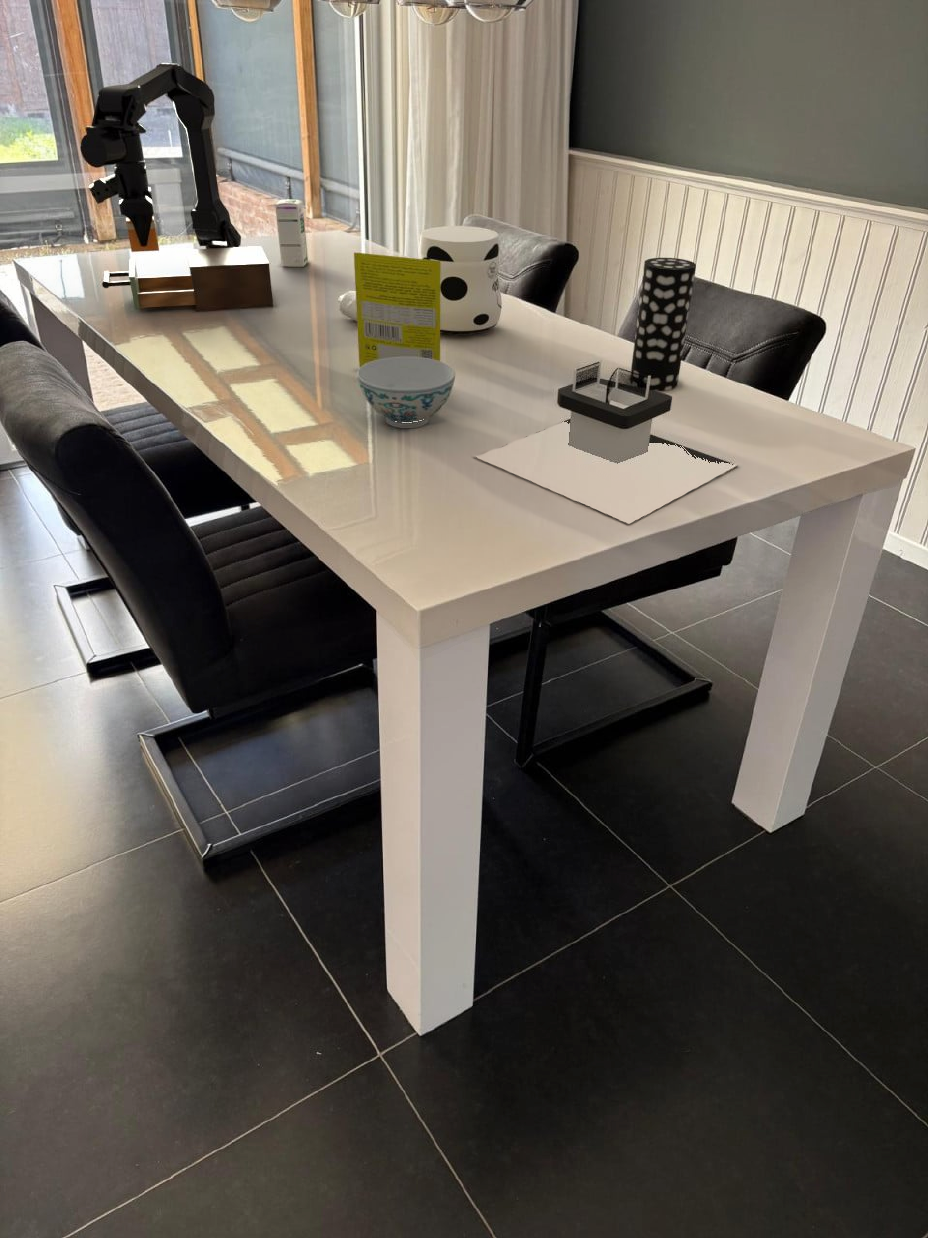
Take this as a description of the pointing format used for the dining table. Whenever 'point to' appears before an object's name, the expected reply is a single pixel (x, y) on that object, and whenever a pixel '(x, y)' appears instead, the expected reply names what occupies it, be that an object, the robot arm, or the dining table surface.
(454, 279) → the milk container
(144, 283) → the drawer
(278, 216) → the syrup box
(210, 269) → the organizer
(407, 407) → the chinaware
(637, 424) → the black-topped pedestal
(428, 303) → the food package
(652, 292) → the white-spotted black cylinder
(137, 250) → the snack box
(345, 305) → the roll
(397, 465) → the dining table surface
